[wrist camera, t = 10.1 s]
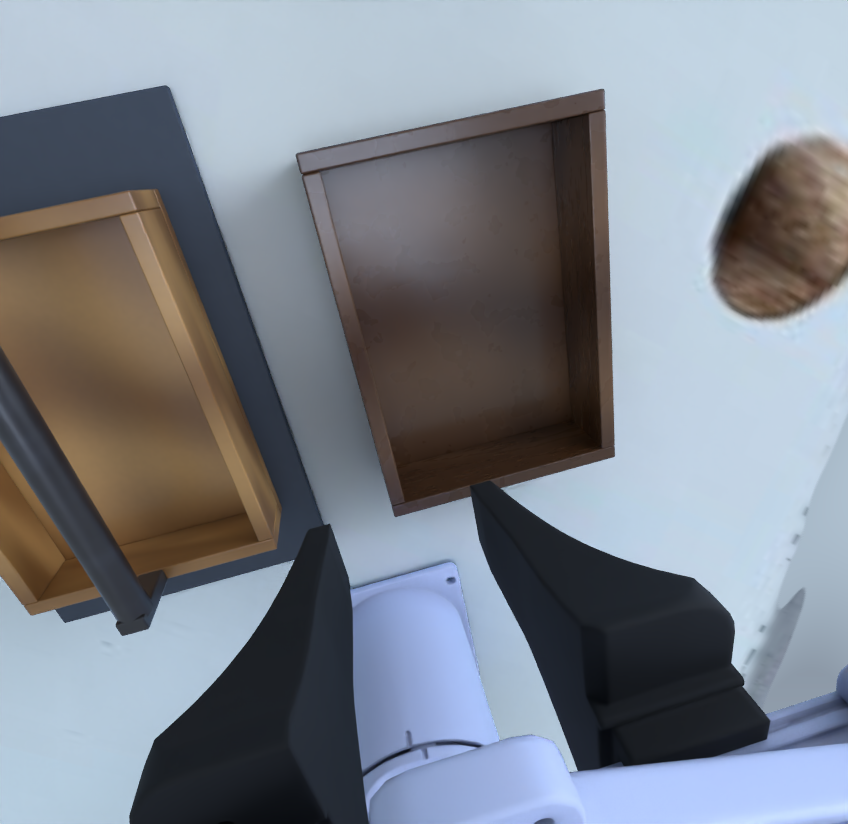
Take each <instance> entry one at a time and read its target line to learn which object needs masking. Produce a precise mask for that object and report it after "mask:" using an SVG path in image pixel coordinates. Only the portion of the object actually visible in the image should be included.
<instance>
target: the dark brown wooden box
mask: <svg viewBox="0 0 848 824" xmlns="http://www.w3.org/2000/svg"><path fill="white" fill-rule="evenodd" d="M604 109H605V91H604V89H599V90H594V91H589V92H584V93H580V94H575V95H570V96H565V97H561V98H556V99H551V100H547V101H542V102H537V103H532V104H528V105H523V106H518V107H513V108H509V109H504V110H499V111H494V112H490V113H485V114H480V115H475V116H471V117H466V118H461V119H456V120H452V121H447V122H442V123H438V124H433V125H428V126H423V127H419V128H414V129H409V130H404V131H400V132H395V133H390V134H385V135H381V136H376V137H371V138H366V139H362V140H357V141H352V142H347V143H343V144H338V145H333V146H328V147H324V148H319V149H314V150H310V151H305V152H300V153H297V154H296V159H297V162H298V166H299V170H300V173H301V174H303V175H302V181H303V184H304V188H305V191H306V195H307V199H308V202H309V206H310V210H311V213H312V217H313V221H314V224H315V228H316V232H317V235H318V239H319V243H320V246H321V250H322V254H323V257H324V261H325V264H326V268H327V272H328V275H329V279H330V283H331V286H332V290H333V294H334V297H335V301H336V305H337V308H338V312H339V316H340V319H341V323H342V327H343V330H344V334H345V337H346V341H347V345H348V348H349V352H350V356H351V359H352V363H353V367H354V370H355V374H356V378H357V381H358V385H359V389H360V392H361V396H362V400H363V403H364V407H365V410H366V414H367V418H368V421H369V425H370V429H371V432H372V436H373V440H374V443H375V447H376V451H377V454H378V458H379V462H380V465H381V469H382V473H383V476H384V480H385V483H386V487H387V491H388V494H389V498H390V502H391V505H392V509H393V513H394V516H395V517H398V516H401V515H405V514H409V513H412V512H416V511H419V510H423V509H427V508H430V507H434V506H438V505H441V504H445V503H448V502H452V501H456V500H459V499H463V498H467V497H470V496H471V491H470V486H471V485H474V484H478V483H482V482H485V481H489V480H490V481H492V482H493V483H495V484H496V485H497V486H498V487H499V488H503V487H507V486H510V485H514V484H518V483H521V482H525V481H528V480H532V479H536V478H539V477H543V476H547V475H550V474H554V473H558V472H561V471H565V470H568V469H572V468H576V467H579V466H583V465H587V464H590V463H594V462H598V461H601V460H605V459H608V458H612V457H615V448H614V445H615V444H614V408H613V371H612V334H611V298H610V261H609V224H608V187H607V151H606V114H605V110H604Z"/></svg>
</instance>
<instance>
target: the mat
mask: <svg viewBox="0 0 848 824" xmlns="http://www.w3.org/2000/svg"><path fill="white" fill-rule="evenodd" d="M146 189H158V191H159V193H160V196H161V199H162V201H163V204H164V206H165V209H166V211H167V214H168V217H169V219H170V222H171V224H172V227H173V229H174V232H175V235H176V237H177V240H178V242H179V245H180V247H181V250H182V253H183V255H184V258H185V260H186V263H187V265H188V268H189V270H190V273H191V276H192V278H193V281H194V283H195V286H196V288H197V291H198V294H199V296H200V299H201V301H202V304H203V306H204V309H205V312H206V314H207V317H208V319H209V322H210V324H211V327H212V330H213V332H214V335H215V337H216V340H217V342H218V345H219V347H220V350H221V353H222V355H223V358H224V360H225V363H226V365H227V368H228V371H229V373H230V376H231V378H232V381H233V383H234V386H235V389H236V391H237V394H238V396H239V399H240V401H241V404H242V407H243V409H244V412H245V414H246V417H247V419H248V422H249V425H250V427H251V430H252V432H253V435H254V437H255V440H256V442H257V445H258V448H259V450H260V453H261V455H262V458H263V460H264V463H265V466H266V468H267V471H268V473H269V476H270V478H271V481H272V484H273V486H274V489H275V491H276V494H277V496H278V499H279V502H280V504H281V507H282V511H281V518H280V526H279V535H278V543H277V549H275V550H271V551H267V552H264V553H260V554H256V555H253V556H249V557H245V558H242V559H238V560H234V561H231V562H227V563H223V564H220V565H216V566H212V567H209V568H205V569H201V570H198V571H194V572H190V573H187V574H183V575H179V576H176V577H172V578H168V580H167V583H166V585H165V588H164V591H163V593H162V596H164V595H168V594H172V593H175V592H179V591H182V590H186V589H190V588H193V587H197V586H201V585H204V584H208V583H211V582H215V581H219V580H222V579H226V578H230V577H233V576H237V575H240V574H244V573H248V572H251V571H255V570H259V569H262V568H266V567H269V566H273V565H277V564H280V563H284V562H288V561H291V560H295V559H296V556H297V554H298V552H299V550H300V547H301V545H302V542H303V540H304V538H305V535H306V533H307V532H308V530H309V529H312V528H316V527H320V526H323V522H322V519H321V516H320V514H319V511H318V508H317V505H316V502H315V499H314V496H313V494H312V491H311V488H310V485H309V482H308V479H307V477H306V474H305V471H304V468H303V465H302V462H301V460H300V457H299V454H298V451H297V448H296V445H295V443H294V440H293V437H292V434H291V431H290V428H289V426H288V423H287V420H286V417H285V414H284V411H283V408H282V406H281V403H280V400H279V397H278V394H277V391H276V389H275V386H274V383H273V380H272V377H271V374H270V372H269V369H268V366H267V363H266V360H265V357H264V355H263V352H262V349H261V346H260V343H259V340H258V338H257V335H256V332H255V329H254V326H253V323H252V321H251V318H250V315H249V312H248V309H247V306H246V303H245V301H244V298H243V295H242V292H241V289H240V286H239V284H238V281H237V278H236V275H235V272H234V269H233V267H232V264H231V261H230V258H229V255H228V252H227V250H226V247H225V244H224V241H223V238H222V235H221V233H220V230H219V227H218V224H217V221H216V218H215V215H214V213H213V210H212V207H211V204H210V201H209V198H208V196H207V193H206V190H205V187H204V184H203V181H202V179H201V176H200V173H199V170H198V167H197V164H196V162H195V159H194V156H193V153H192V150H191V147H190V145H189V142H188V139H187V136H186V133H185V130H184V127H183V125H182V122H181V119H180V116H179V113H178V110H177V108H176V105H175V102H174V99H173V96H172V93H171V91H170V88H169V87H168V86H160V87H154V88H149V89H144V90H139V91H134V92H128V93H123V94H118V95H113V96H108V97H102V98H97V99H92V100H87V101H82V102H76V103H71V104H66V105H61V106H56V107H50V108H45V109H40V110H35V111H30V112H24V113H19V114H14V115H9V116H4V117H0V217H2V216H6V215H11V214H16V213H21V212H26V211H31V210H35V209H40V208H45V207H50V206H55V205H60V204H64V203H69V202H74V201H79V200H84V199H89V198H93V197H98V196H103V195H108V194H113V193H118V192H122V191H127V190H146ZM55 610H56V611H57V613H58V614H59V616H60V617H61V618H62V620H63V621H64V622H65V623H66V622H70V621H74V620H77V619H81V618H85V617H88V616H92V615H95V614H99V613H103V612H106V611H110V609H109V607H108V606H107V604H106V603H105V601H104V599H103V598H102V597H98V598H95V599H91V600H87V601H84V602H80V603H76V604H73V605H69V606H65V607H62V608H58V609H55Z"/></svg>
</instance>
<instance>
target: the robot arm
mask: <svg viewBox="0 0 848 824" xmlns="http://www.w3.org/2000/svg"><path fill="white" fill-rule="evenodd" d="M470 491H471V497H472V502H473V508H474V513H475V519H476V524H477V530H478V535H479V541H480V543H481V546H482V549H483V551H484V554H485V557H486V559H487V562H488V565H489V567H490V570H491V572H492V574H493V576H494V578H495V580H496V582H497V584H498V585H499V587H500V589H501V591H502V593H503V595H504V597H505V599H506V601H507V603H508V605H509V607H510V608H511V610H512V612H513V614H514V616H515V618H516V620H517V622H518V624H519V626H520V628H521V629H522V631H523V633H524V635H525V638H526V640H527V642H528V644H529V646H530V648H531V651H532V653H533V656H534V658H535V661H536V663H537V666H538V668H539V671H540V673H541V676H542V678H543V681H544V683H545V686H546V688H547V691H548V693H549V696H550V698H551V701H552V704H553V706H554V709H555V711H556V714H557V716H558V719H559V722H560V724H561V727H562V730H563V732H564V735H565V738H566V740H567V743H568V745H569V748H570V751H571V753H572V756H573V759H574V761H575V764H576V767H577V770H578V771H576V772H569V771H568V769H567V766H566V764H565V762H564V759H563V757H562V754H561V752H560V751H559V749H558V748H557V746H556V745H555V743H554V742H553V741H551V740H549V739H545V738H542V737H538V736H535V735H524V736H517V737H511V738H507V739H504V740H501V741H500V739H499V736H498V733H497V730H496V727H495V724H494V721H493V717H492V714H491V711H490V708H489V705H488V702H487V699H486V696H485V692H484V689H483V686H482V683H481V680H480V677H479V676H480V673H479V668H478V663H477V658H476V654H475V649H474V644H473V640H472V635H471V630H470V626H469V621H468V616H467V612H466V607H465V602H464V598H463V593H462V588H461V584H460V579H459V574H458V570H457V567H456V565H455V564H454V563H450V562H448V563H444V564H440V565H437V566H433V567H429V568H426V569H422V570H419V571H415V572H412V573H408V574H405V575H401V576H398V577H394V578H391V579H387V580H384V581H380V582H377V583H373V584H369V585H366V586H362V587H359V588H355V589H352V590H350V585H349V577H348V574H347V571H346V569H345V566H344V563H343V560H342V557H341V554H340V551H339V548H338V545H337V542H336V540H335V537H334V534H333V531H332V528H331V525H330V524H327V525H323V526H320V527H316V528H312V529H309V530H308V532H307V533H306V535H305V538H304V540H303V542H302V545H301V547H300V550H299V552H298V554H297V556H296V559H295V561H294V563H293V565H292V567H291V569H290V571H289V573H288V575H287V577H286V579H285V581H284V583H283V585H282V587H281V589H280V591H279V593H278V594H277V596H276V598H275V600H274V601H273V603H272V605H271V607H270V608H269V610H268V612H267V613H266V615H265V617H264V618H263V620H262V621H261V623H260V625H259V626H258V628H257V629H256V630H255V632H254V633H253V635H252V636H251V638H250V639H249V641H248V642H247V643H246V645H245V646H244V647H243V648H242V650H241V651H240V652H239V653H238V655H237V656H236V657H235V658H234V660H233V661H232V662H231V663H230V664H229V666H228V667H227V668H226V669H225V671H224V672H223V673H222V674H221V675H220V676H219V677H218V678H217V680H216V681H215V682H214V683H213V684H212V685H211V686H210V687H209V688H208V689H207V690H206V691H205V692H204V693H203V695H202V696H201V697H200V698H199V699H198V700H197V701H196V702H195V703H194V704H193V705H192V706H191V707H190V708H189V709H188V710H186V711H185V712H184V713H183V714H182V715H181V716H180V717H179V718H178V719H177V720H176V721H175V722H174V723H172V724H171V725H170V726H169V727H168V728H167V729H166V730H165V731H164V732H163V733H162V734H160V735H159V736H158V737H157V738H156V739H155V740H154V743H153V745H152V748H151V750H150V753H149V755H148V758H147V760H146V763H145V766H144V769H143V772H142V775H141V779H140V782H139V785H138V789H137V792H136V795H135V799H134V802H133V805H132V809H131V812H130V815H129V818H130V824H848V665H847V666H846V667H844V668H843V669H842V670H841V672H840V673H839V675H838V678H837V686H836V691H835V692H832V693H829V694H826V695H823V696H820V697H817V698H814V699H811V700H808V701H805V702H801V703H798V704H796V705H792V706H789V707H786V708H783V709H780V710H777V711H774V712H771V713H768V714H765V713H764V712H763V711H762V710H761V708H760V707H759V706H758V705H757V704H756V702H755V701H754V700H753V699H752V698H751V696H750V695H749V694H748V693H747V692H746V690H745V689H744V688H743V687H742V686H744V679H743V677H742V676H741V674H740V673H739V672H738V671H737V670H736V668H735V667H734V666H733V665H732V664H731V660H732V652H733V644H734V635H735V627H734V621H733V619H732V617H731V615H730V613H729V612H728V611H727V610H726V609H725V608H724V607H723V605H722V604H721V603H720V602H719V601H718V600H717V599H716V598H715V597H714V596H713V595H712V594H711V593H710V592H709V591H708V590H706V589H705V588H704V587H703V586H702V585H701V584H699V583H698V582H697V581H696V580H695V579H694V578H691V577H686V576H682V575H678V574H673V573H669V572H664V571H660V570H656V569H652V568H649V567H645V566H642V565H639V564H635V563H632V562H629V561H626V560H623V559H620V558H618V557H615V556H612V555H610V554H607V553H605V552H602V551H600V550H597V549H595V548H593V547H591V546H588V545H586V544H584V543H582V542H580V541H578V540H576V539H574V538H572V537H570V536H568V535H566V534H565V533H563V532H561V531H559V530H558V529H556V528H554V527H553V526H551V525H550V524H548V523H546V522H545V521H543V520H542V519H540V518H539V517H537V516H536V515H534V514H533V513H532V512H530V511H529V510H527V509H526V508H525V507H523V506H522V505H521V504H519V503H518V502H517V501H515V500H514V499H513V498H511V497H510V496H509V495H508V494H506V493H505V492H504V491H503V490H502V489H500V488H499V487H498V486H497V485H496V484H495V483H493V482H492V481H490V480H489V481H485V482H482V483H478V484H474V485H471V486H470ZM449 577H453V578H452V579H449V580H447V579H448V578H449Z"/></svg>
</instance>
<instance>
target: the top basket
mask: <svg viewBox="0 0 848 824" xmlns="http://www.w3.org/2000/svg"><path fill="white" fill-rule="evenodd" d="M281 511H282V507H281V504H280V502H279V499H278V496H277V494H276V491H275V489H274V486H273V484H272V481H271V478H270V476H269V473H268V471H267V468H266V466H265V463H264V460H263V458H262V455H261V453H260V450H259V448H258V445H257V442H256V440H255V437H254V435H253V432H252V430H251V427H250V425H249V422H248V419H247V417H246V414H245V412H244V409H243V407H242V404H241V401H240V399H239V396H238V394H237V391H236V389H235V386H234V383H233V381H232V378H231V376H230V373H229V371H228V368H227V365H226V363H225V360H224V358H223V355H222V353H221V350H220V347H219V345H218V342H217V340H216V337H215V335H214V332H213V330H212V327H211V324H210V322H209V319H208V317H207V314H206V312H205V309H204V306H203V304H202V301H201V299H200V296H199V294H198V291H197V288H196V286H195V283H194V281H193V278H192V276H191V273H190V270H189V268H188V265H187V263H186V260H185V258H184V255H183V253H182V250H181V247H180V245H179V242H178V240H177V237H176V235H175V232H174V229H173V227H172V224H171V222H170V219H169V217H168V214H167V211H166V209H165V206H164V204H163V201H162V199H161V196H160V193H159V191H158V189H146V190H127V191H122V192H118V193H113V194H108V195H103V196H98V197H93V198H89V199H84V200H79V201H74V202H69V203H64V204H60V205H55V206H50V207H45V208H40V209H35V210H31V211H26V212H21V213H16V214H11V215H6V216H2V217H0V576H1V577H2V578H3V580H4V581H5V582H6V584H7V585H8V586H9V588H10V589H11V590H12V592H13V593H14V594H15V596H16V597H17V598H18V600H19V601H20V602H21V604H22V605H24V607H25V609H26V610H27V611H28V613H29V614H30V615H36V614H40V613H43V612H47V611H51V610H54V609H58V608H62V607H65V606H69V605H73V604H76V603H80V602H84V601H87V600H91V599H95V598H98V597H102V598H103V599H104V601H105V603H106V604H107V606H108V607H109V609H110V610H111V612H112V613H113V615H114V616H115V618H116V619H117V623H116V627H117V629H118V631H119V632H120V634H121V635H122V636H125V635H128V634H132V633H136V632H139V631H143V630H146V629H149V627H150V625H151V622H152V619H153V617H154V614H155V612H156V609H157V606H158V604H159V601H160V599H161V596H162V593H163V591H164V588H165V585H166V583H167V580H168V578H172V577H176V576H179V575H183V574H187V573H190V572H194V571H198V570H201V569H205V568H209V567H212V566H216V565H220V564H223V563H227V562H231V561H234V560H238V559H242V558H245V557H249V556H253V555H256V554H260V553H264V552H267V551H271V550H275V549H277V543H278V535H279V526H280V518H281Z"/></svg>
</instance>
